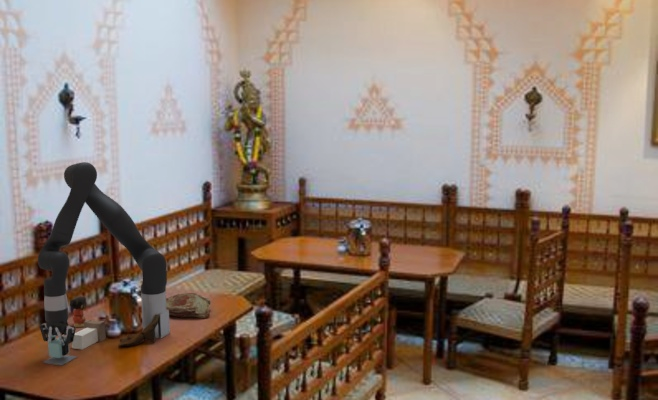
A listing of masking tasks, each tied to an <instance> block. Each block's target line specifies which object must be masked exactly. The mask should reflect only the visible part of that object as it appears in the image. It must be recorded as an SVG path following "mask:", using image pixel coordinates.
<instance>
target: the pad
mask: <svg viewBox="0 0 658 400" xmlns="http://www.w3.org/2000/svg"><path fill="white" fill-rule="evenodd" d="M77 358H78V356H76V355H70V354H67V355H65V356H63V357H61V358H56V357H50V358H48V359H46V360H44V361H43V362H42V363H43V364H49V365H55V366H64V365H66V364H68V363H70V362H72V361H73V360H75V359H77Z"/></svg>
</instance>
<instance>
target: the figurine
mask: <svg viewBox="0 0 658 400" xmlns="http://www.w3.org/2000/svg"><path fill="white" fill-rule="evenodd" d="M86 300H87V299H86V297H84V296H80V295H78V296H74V297H73V298H72V299H70V303H69V306H70V307H71V309H72V310H74V311H73V317H72V321H73V326H72V327H75V328H84V322H85V321H86V318H85V316H84V312H83V310H84V309H85V304H86Z"/></svg>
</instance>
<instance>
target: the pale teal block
mask: <svg viewBox="0 0 658 400" xmlns="http://www.w3.org/2000/svg"><path fill="white" fill-rule="evenodd" d="M64 341H65V339H64ZM47 345H48V347H47V348H48V357H50V358H52V357H56V358H61V357H63V356H64V355H62V343H61V340H59V338H58V337H56V339H55V340H53V341H51V342H49V343H48V342H47ZM68 347H69V348H70V344H68ZM68 354H70V351H69V352H68Z"/></svg>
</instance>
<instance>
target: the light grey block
mask: <svg viewBox="0 0 658 400" xmlns="http://www.w3.org/2000/svg"><path fill="white" fill-rule="evenodd" d="M106 339H107V337H106V321H105V320H92V319H87V320H85V322H84V326H83V329H80V330H79V331H77V332H75V335H74V340H73V342H72V343H71V349H77V350H85V349H86V348H88V347H89V346H92V345H93V344H96V343H97V342H100V343H101V342H103V341H105V340H106Z"/></svg>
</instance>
